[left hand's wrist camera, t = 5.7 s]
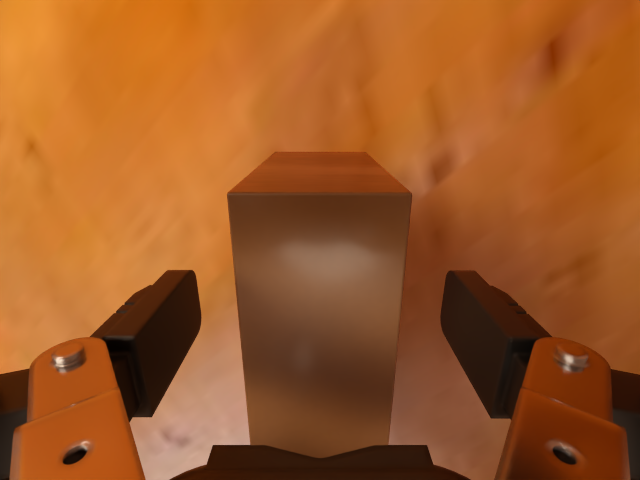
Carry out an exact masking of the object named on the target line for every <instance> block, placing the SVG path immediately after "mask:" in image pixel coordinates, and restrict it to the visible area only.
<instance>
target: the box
mask: <svg viewBox="0 0 640 480" xmlns="http://www.w3.org/2000/svg"><path fill="white" fill-rule="evenodd" d="M227 199H228V210H229V221H230V231H231V242H232V253H233V263H234V274H235V285H236V296H237V306H238V317H239V328H240V338H241V349H242V360H243V370H244V381H245V392H246V403H247V413H248V424H249V435H250V445H267V446H271V447H275V448H279V449H283V450H287V451H291V452H295V453H299V454H303V455H307V456H311V457H315V458H325V457H329V456H333V455H337V454H341V453H345V452H349V451H353V450H357V449H361V448H365V447H369V446H373V445H388V443H389V432H390V422H391V411H392V401H393V390H394V380H395V369H396V359H397V348H398V338H399V327H400V317H401V306H402V296H403V285H404V275H405V264H406V254H407V243H408V233H409V222H410V212H411V201H412V193H411V192H410V191H408V190H407V189H406V188H405V187H404V186H403V185H402V184H401V183H400V182H398V181H397V180H396V179H395V178H394V177H393V176H392V175H391V174H389V173H388V172H387V171H386V170H385V169H384V168H383V167H382V166H380V165H379V164H378V163H377V162H376V161H375V160H374V159H373V158H371V157H370V156H369V155H368V154H367V153H366V152H275V153H274V154H272V155H271V156H270V157H269V158H268V159H267V160H265V161H264V162H263V163H262V164H261V165H260V166H258V167H257V168H256V169H255V170H254V171H253V172H251V173H250V174H249V175H248V176H247V177H246V178H244V179H243V180H242V181H241V182H240V183H239V184H237V185H236V186H235V187H234V188H233V189H232V190H230V191H229V192H228V194H227Z"/></svg>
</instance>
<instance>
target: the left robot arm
mask: <svg viewBox="0 0 640 480" xmlns="http://www.w3.org/2000/svg"><path fill="white" fill-rule="evenodd" d="M200 326H201V309H200V302H199V294H198V287H197V280H196V275H195V273H194V271H193V270H167V271H166V272H165V273H164V274H163V275H162V276H161V277H160V278H159V279H158V280H157V281H156V282H155V283H154V284H153V285H149V286H147V287H146V288H144V289H142V290H140V291H138V292H136V293H135V294H133V295H132V296H131V297H130V298H129V299H128V300H127V301H126V302H125V305H122V306H121V307H120V308H119V309H118V310H117V311H116V313H114V314H113V315H112V316H111V317H110V318H109V319H108V320H107V321H106V322H105V323H104V324H103V325H102V326H100V327H99V328H98V329H97V330H96V331H95V332H94V333H93V334H92V335H91V336H90V337H84V338H78V339H73V340H69V341H66V342H63V343H61V344H58V345H56V346H54V347H52V348H50V349H48V350H46V351H45V352H43V353H42V354H41V355H39V356H38V357H37V358H36V359H35V360H34V361H33V362H32V364H31V366H30V369H25V370H20V371H15V372H10V373H5V374H0V480H145V476H144V473H143V469H142V466H141V462H140V459H139V455H138V452H137V448H136V445H135V441H134V438H133V434H132V431H131V427H130V424H129V422H130V421H131V419H132V417H152V416H153V414H154V412H155V410H156V409H157V407H158V405H159V403H160V401H161V400H162V398H163V396H164V394H165V392H166V391H167V389H168V387H169V385H170V383H171V382H172V380H173V378H174V376H175V374H176V373H177V371H178V369H179V367H180V365H181V364H182V362H183V360H184V358H185V356H186V354H187V353H188V351H189V349H190V347H191V345H192V344H193V342H194V340H195V338H196V336H197V335H198V333H199V330H200ZM441 327H442V331H443V334H444V336H445V337H446V339H447V341H448V343H449V344H450V346H451V348H452V350H453V352H454V353H455V355H456V357H457V359H458V360H459V362H460V364H461V366H462V368H463V369H464V371H465V373H466V375H467V377H468V378H469V380H470V382H471V384H472V385H473V387H474V389H475V391H476V393H477V394H478V396H479V398H480V400H481V401H482V403H483V405H484V407H485V409H486V410H487V412H488V414H489V416H490V418H510V419H511V424H510V427H509V431H508V434H507V438H506V441H505V445H504V448H503V452H502V455H501V459H500V462H499V466H498V469H497V473H496V476H495V480H640V375H638V374H633V373H628V372H623V371H617V370H612V369H610V366H609V364H608V362H607V361H606V360H605V359H604V358H603V357H602V356H601V355H599V354H598V353H597V352H595V351H594V350H592V349H590V348H588V347H586V346H584V345H582V344H579V343H577V342H574V341H571V340H567V339H562V338H556V337H552V336H551V335H550V334H549V333H548V332H547V331H546V330H545V329H544V328H543V327H542V326H540V325H539V324H538V323H537V322H536V321H535V320H534V319H533V318H532V317H531V316H530V315H529V314H526V311H525V310H524V309H523V308H522V307H521V306H518V303H517V302H515V301H514V300H513V299H512V298H511V297H510V296H509V295H508V294H507V293H505V292H503V291H501V290H499V289H497V288H496V287H494V286H489V285H488V284H487V283H486V281H485V280H484V279H483V278H482V277H481V276H480V275H479V274H478V273H477V272H475V271H449V272H448V273H447V275H446V280H445V287H444V294H443V301H442V308H441ZM170 480H470V479H468V478H467V477H465V476H462V475H460V474H458V473H456V472H454V471H451V470H449V469H446V468H443V467H440V466H437V465H433V462H432V459H431V456H430V453H429V450H428V447H427V445H373V446H369V447H365V448H361V449H357V450H353V451H349V452H345V453H341V454H337V455H333V456H329V457H325V458H315V457H311V456H307V455H303V454H299V453H295V452H291V451H287V450H283V449H279V448H275V447H271V446H267V445H213V447H212V450H211V453H210V456H209V459H208V462H207V465H203V466H200V467H197V468H194V469H191V470H189V471H186V472H184V473H182V474H180V475H178V476H175V477H173V478H172V479H170Z"/></svg>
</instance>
